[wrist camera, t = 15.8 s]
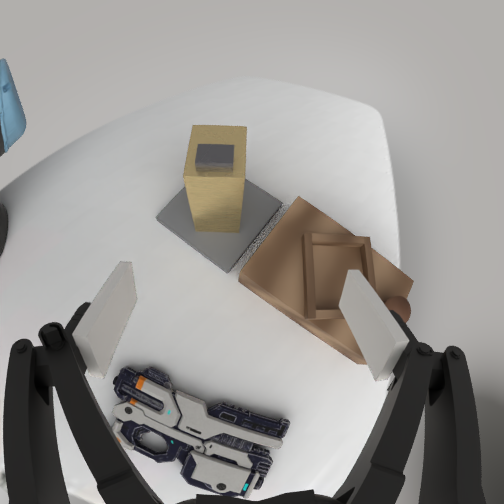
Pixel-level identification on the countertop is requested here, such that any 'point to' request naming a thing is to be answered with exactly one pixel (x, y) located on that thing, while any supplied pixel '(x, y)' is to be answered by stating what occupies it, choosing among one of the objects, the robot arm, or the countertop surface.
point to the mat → (218, 243)
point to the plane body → (321, 274)
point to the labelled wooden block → (216, 177)
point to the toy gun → (196, 433)
